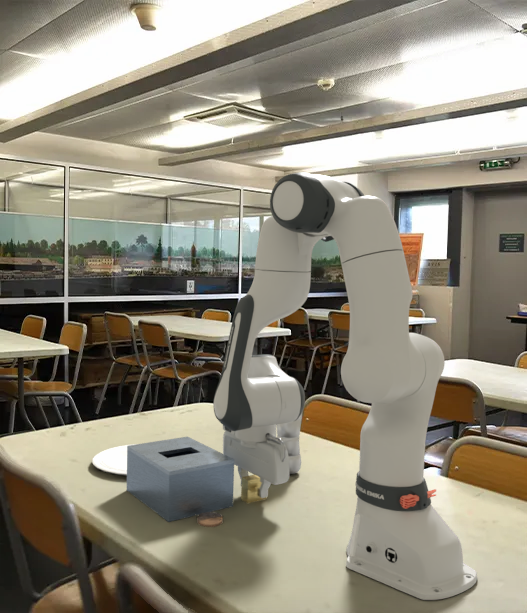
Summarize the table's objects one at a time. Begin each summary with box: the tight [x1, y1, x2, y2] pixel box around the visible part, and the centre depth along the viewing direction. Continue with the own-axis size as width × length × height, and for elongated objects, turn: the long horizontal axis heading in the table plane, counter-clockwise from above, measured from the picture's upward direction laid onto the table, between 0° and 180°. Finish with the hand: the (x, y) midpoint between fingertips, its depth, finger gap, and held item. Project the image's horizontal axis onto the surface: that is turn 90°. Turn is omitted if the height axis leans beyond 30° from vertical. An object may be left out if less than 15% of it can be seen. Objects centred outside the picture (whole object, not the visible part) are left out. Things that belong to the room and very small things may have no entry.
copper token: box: [196, 511, 224, 528], centre depth 122 cm, size 5×5×1 cm
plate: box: [91, 443, 137, 477], centre depth 155 cm, size 25×25×2 cm
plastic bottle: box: [276, 412, 303, 475], centre depth 151 cm, size 6×7×20 cm
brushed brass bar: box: [240, 474, 267, 504], centre depth 134 cm, size 2×5×5 cm, turn 126°
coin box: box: [126, 436, 235, 523], centre depth 133 cm, size 20×15×10 cm
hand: (254, 492), depth 134 cm, fingers open, 5 cm apart
